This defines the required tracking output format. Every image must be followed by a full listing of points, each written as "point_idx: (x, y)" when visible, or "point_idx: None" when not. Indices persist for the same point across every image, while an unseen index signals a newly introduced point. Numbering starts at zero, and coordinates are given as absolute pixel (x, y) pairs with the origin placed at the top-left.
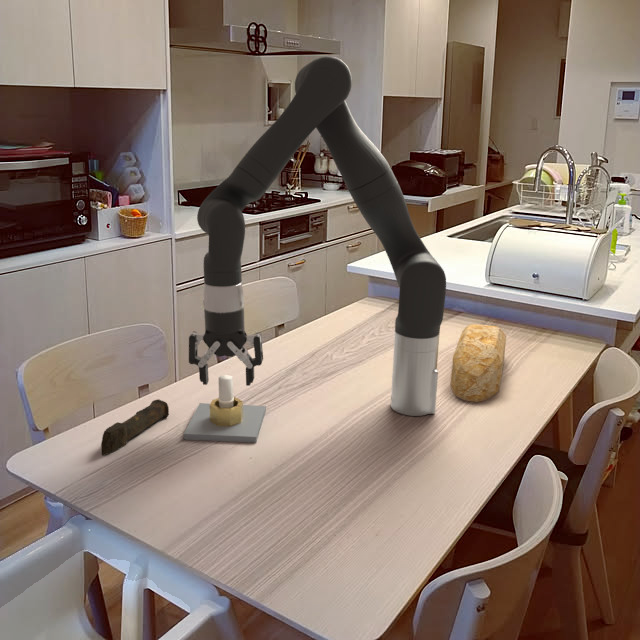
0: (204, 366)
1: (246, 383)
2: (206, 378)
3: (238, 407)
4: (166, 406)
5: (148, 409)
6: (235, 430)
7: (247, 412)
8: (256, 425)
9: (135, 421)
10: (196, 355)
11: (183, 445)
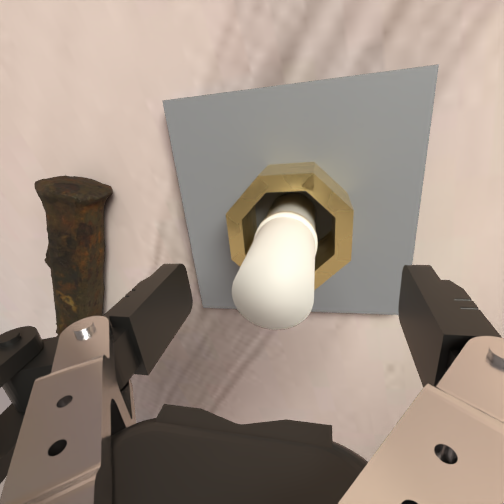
0: (134, 369)
1: (403, 325)
2: (178, 318)
3: (343, 266)
4: (89, 203)
5: (63, 256)
6: (335, 283)
7: (359, 150)
8: (402, 247)
9: (77, 315)
10: (15, 369)
11: (218, 323)
